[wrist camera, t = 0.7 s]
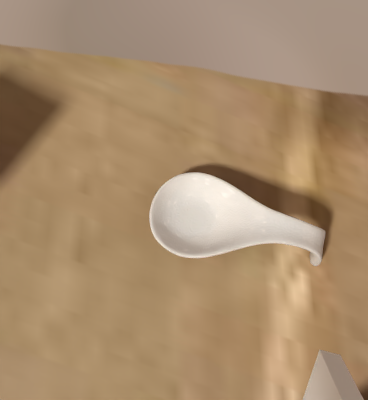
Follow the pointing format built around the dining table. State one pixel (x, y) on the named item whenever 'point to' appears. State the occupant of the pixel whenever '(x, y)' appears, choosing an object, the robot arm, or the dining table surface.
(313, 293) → the dining table surface
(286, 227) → the spoon rest
